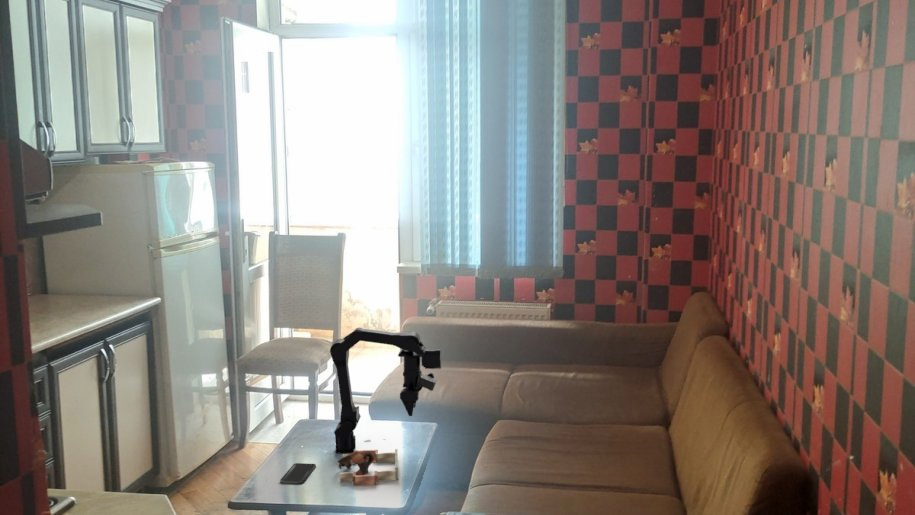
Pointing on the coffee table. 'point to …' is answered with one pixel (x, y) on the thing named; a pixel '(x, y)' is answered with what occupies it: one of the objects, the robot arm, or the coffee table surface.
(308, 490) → the coffee table surface
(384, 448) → the coffee table surface
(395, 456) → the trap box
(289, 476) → the phone
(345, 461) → the pottery mug
